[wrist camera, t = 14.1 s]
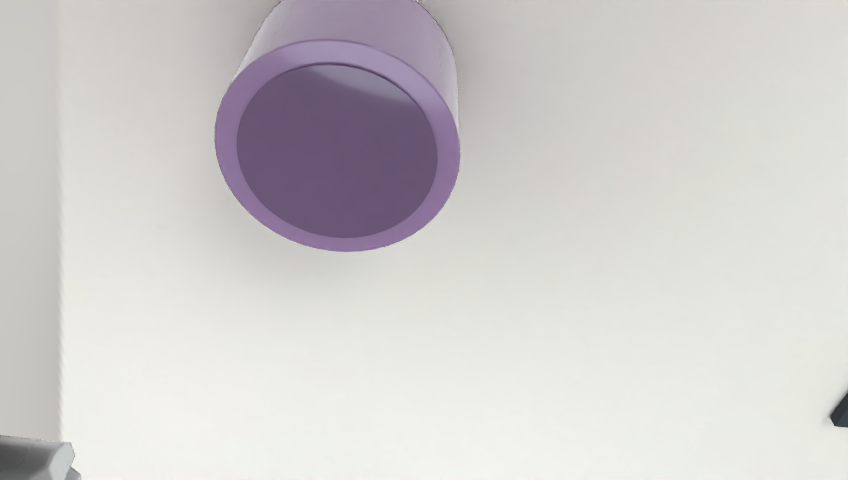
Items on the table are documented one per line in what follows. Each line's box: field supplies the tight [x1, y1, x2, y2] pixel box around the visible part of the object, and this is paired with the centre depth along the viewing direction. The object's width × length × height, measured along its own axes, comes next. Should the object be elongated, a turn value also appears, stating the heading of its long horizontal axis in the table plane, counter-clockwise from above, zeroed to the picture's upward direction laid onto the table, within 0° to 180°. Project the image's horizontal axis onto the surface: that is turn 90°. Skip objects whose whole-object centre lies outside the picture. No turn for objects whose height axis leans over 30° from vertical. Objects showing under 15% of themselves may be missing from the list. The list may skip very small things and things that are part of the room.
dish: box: [215, 0, 460, 252], centre depth 20 cm, size 6×6×5 cm
